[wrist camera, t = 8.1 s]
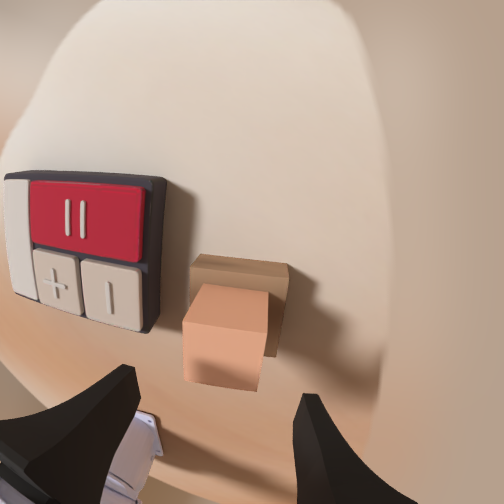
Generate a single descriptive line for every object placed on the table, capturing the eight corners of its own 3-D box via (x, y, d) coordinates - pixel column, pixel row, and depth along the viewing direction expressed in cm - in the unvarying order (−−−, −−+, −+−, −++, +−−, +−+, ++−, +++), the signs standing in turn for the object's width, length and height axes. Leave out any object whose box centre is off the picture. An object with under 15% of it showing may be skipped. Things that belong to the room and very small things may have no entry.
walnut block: (275, 333, 21) (275, 357, 18) (199, 324, 21) (190, 346, 18) (286, 261, 19) (289, 278, 16) (201, 252, 19) (190, 266, 17)
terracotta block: (260, 344, 18) (256, 391, 14) (201, 336, 18) (184, 380, 14) (268, 292, 17) (267, 333, 12) (203, 283, 17) (182, 320, 12)
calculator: (146, 341, 18) (8, 296, 17) (163, 312, 22) (34, 279, 21) (149, 180, 14) (-3, 174, 14) (171, 176, 19) (29, 170, 18)
